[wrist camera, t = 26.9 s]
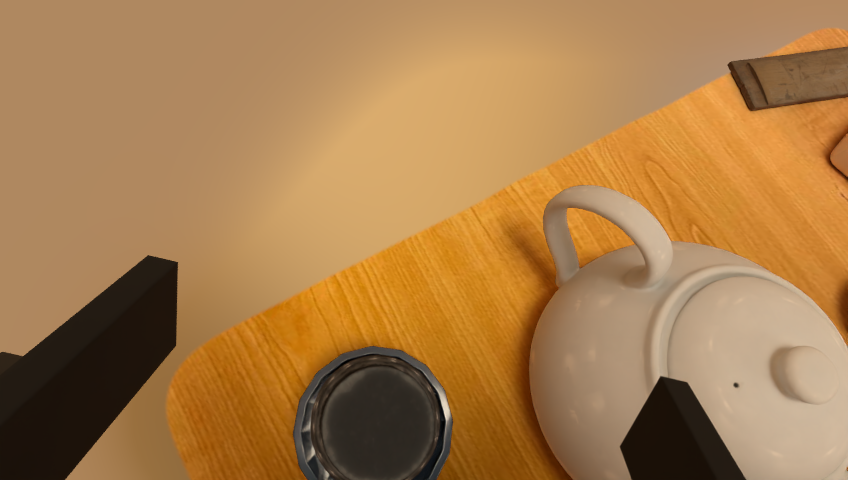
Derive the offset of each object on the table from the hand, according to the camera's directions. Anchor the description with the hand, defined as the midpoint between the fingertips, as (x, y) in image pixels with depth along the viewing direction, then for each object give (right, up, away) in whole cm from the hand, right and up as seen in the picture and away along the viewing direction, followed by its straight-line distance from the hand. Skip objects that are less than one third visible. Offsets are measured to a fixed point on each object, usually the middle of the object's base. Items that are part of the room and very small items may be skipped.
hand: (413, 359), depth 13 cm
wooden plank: (+36, +16, +30) cm, 50 cm away
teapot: (+15, -6, +21) cm, 26 cm away
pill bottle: (-3, -8, +17) cm, 19 cm away
